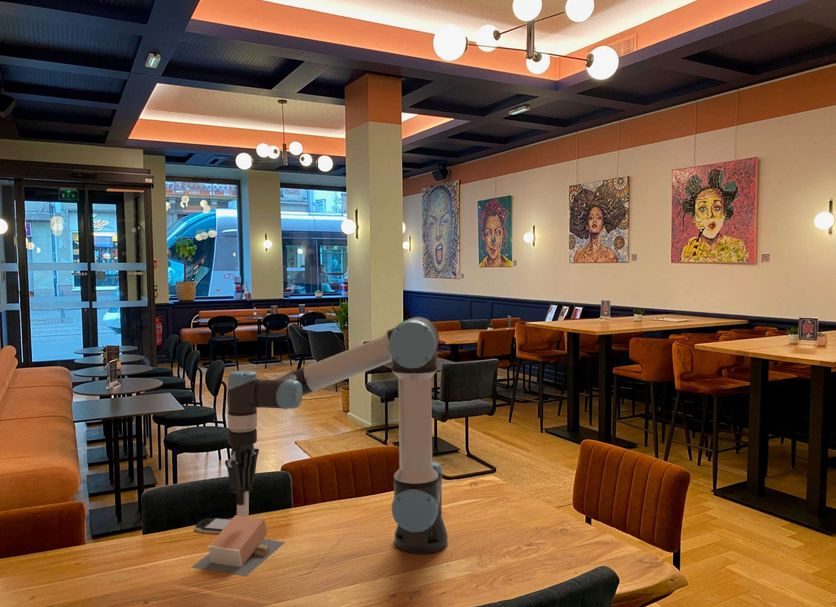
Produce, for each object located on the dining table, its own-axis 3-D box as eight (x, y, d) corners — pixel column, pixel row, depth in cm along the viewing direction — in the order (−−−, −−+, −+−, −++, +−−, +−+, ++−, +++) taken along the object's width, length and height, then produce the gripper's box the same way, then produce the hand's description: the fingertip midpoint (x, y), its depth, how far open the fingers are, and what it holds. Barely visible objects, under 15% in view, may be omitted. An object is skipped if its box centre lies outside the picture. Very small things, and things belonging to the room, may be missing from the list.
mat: (285, 545, 168) (285, 542, 168) (246, 579, 149) (246, 576, 149) (235, 537, 173) (235, 535, 173) (191, 570, 153) (191, 567, 153)
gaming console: (190, 535, 175) (190, 527, 175) (205, 523, 184) (205, 515, 184) (252, 540, 172) (252, 532, 172) (265, 527, 181) (265, 519, 180)
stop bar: (269, 552, 162) (269, 545, 162) (265, 555, 160) (265, 548, 160) (224, 545, 166) (224, 538, 166) (220, 549, 164) (219, 541, 164)
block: (264, 518, 164) (238, 551, 152) (266, 534, 165) (241, 567, 153) (235, 515, 166) (208, 546, 154) (238, 530, 168) (211, 562, 156)
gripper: (243, 422, 168) (244, 504, 169) (215, 433, 155) (216, 522, 156) (267, 424, 166) (267, 507, 167) (241, 436, 153) (241, 526, 154)
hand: (242, 515), depth 162 cm, fingers closed
